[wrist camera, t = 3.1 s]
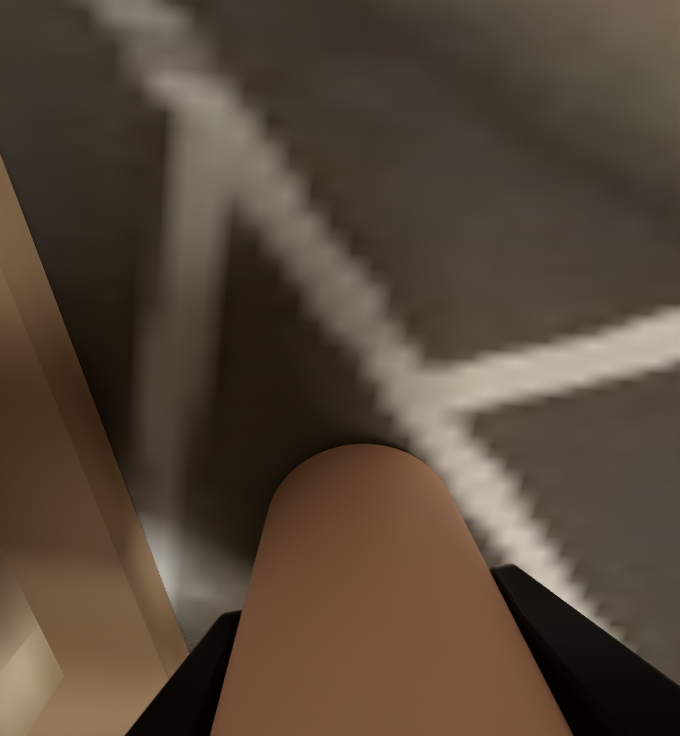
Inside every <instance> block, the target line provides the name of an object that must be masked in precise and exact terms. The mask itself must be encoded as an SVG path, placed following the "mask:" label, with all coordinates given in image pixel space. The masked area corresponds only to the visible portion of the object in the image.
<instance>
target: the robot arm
mask: <svg viewBox="0 0 680 736" xmlns="http://www.w3.org/2000/svg"><path fill="white" fill-rule="evenodd" d="M490 573H491V575H492V577H493V579H494V581H495V583H496V585H497V587H498V589H499V591H500V592H501V594H502V596H503V598H504V600H505V602H506V604H507V606H508V608H509V610H510V612H511V614H512V616H513V618H514V620H515V622H516V624H517V626H518V628H519V630H520V632H521V634H522V636H523V637H524V639H525V641H526V643H527V645H528V647H529V649H530V651H531V653H532V655H533V657H534V659H535V661H536V663H537V665H538V667H539V669H540V671H541V673H542V675H543V677H544V679H545V681H546V682H547V684H548V686H549V688H550V690H551V692H552V694H553V696H554V698H555V700H556V702H557V704H558V706H559V708H560V710H561V712H562V714H563V716H564V718H565V720H566V722H567V724H568V726H569V727H570V729H571V731H572V733H573V735H574V736H680V686H679V685H677V684H676V683H675V682H673V681H672V680H671V679H669V678H668V677H667V676H665V675H664V674H662V673H661V672H660V671H658V670H657V669H656V668H654V667H653V666H652V665H650V664H649V663H648V662H646V661H645V660H643V659H642V658H641V657H639V656H638V655H637V654H635V653H634V652H633V651H631V650H630V649H629V648H627V647H626V646H624V645H623V644H622V643H620V642H619V641H618V640H616V639H615V638H614V637H612V636H611V635H610V634H608V633H607V632H605V631H604V630H603V629H601V628H600V627H599V626H597V625H596V624H595V623H593V622H592V621H591V620H589V619H588V618H586V617H585V616H584V615H582V614H581V613H580V612H578V611H577V610H576V609H574V608H573V607H572V606H570V605H569V604H567V603H566V602H565V601H563V600H562V599H561V598H559V597H558V596H557V595H555V594H554V593H553V592H551V591H550V590H548V589H547V588H546V587H544V586H543V585H542V584H540V583H539V582H538V581H536V580H535V579H534V578H532V577H531V576H529V575H528V574H527V573H525V572H524V571H523V570H521V569H520V568H519V567H517V566H516V565H514V564H503V565H498V566H493V567H491V568H490ZM241 613H242V610H239V611H233V612H228V613H224V614H222V615H220V616H219V617H218V618H217V620H216V621H215V622H214V624H213V625H212V626H211V627H210V629H209V630H208V631H207V632H206V634H205V635H204V636H203V637H202V639H201V640H200V641H199V642H198V644H197V645H196V646H195V647H194V649H193V650H192V651H191V652H190V654H189V655H188V656H187V657H186V659H185V660H184V661H183V662H182V664H181V665H180V666H179V667H178V669H177V670H176V671H175V673H174V674H173V675H172V676H171V678H170V679H169V680H168V681H167V683H166V684H165V685H164V686H163V688H162V689H161V690H160V691H159V693H158V694H157V695H156V696H155V698H154V699H153V700H152V701H151V703H150V704H149V705H148V706H147V708H146V709H145V710H144V711H143V713H142V714H141V715H140V716H139V718H138V719H137V720H136V722H135V723H134V724H133V725H132V727H131V728H130V729H129V730H128V732H127V733H126V734H125V735H124V736H210V734H211V730H212V726H213V722H214V718H215V714H216V710H217V706H218V703H219V699H220V695H221V691H222V687H223V683H224V679H225V675H226V672H227V668H228V664H229V660H230V656H231V652H232V648H233V644H234V640H235V637H236V633H237V629H238V625H239V621H240V617H241Z"/></svg>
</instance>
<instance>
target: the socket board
mask: <svg viewBox="0 0 680 736" xmlns="http://www.w3.org/2000/svg"><path fill="white" fill-rule="evenodd" d="M188 655H189V651H188V649H187V646H186V643H185V641H184V638H183V636H182V633H181V630H180V628H179V625H178V622H177V620H176V617H175V614H174V612H173V609H172V606H171V604H170V601H169V599H168V596H167V593H166V591H165V588H164V585H163V583H162V580H161V577H160V575H159V572H158V569H157V567H156V564H155V562H154V559H153V556H152V554H151V551H150V548H149V546H148V543H147V540H146V538H145V535H144V533H143V530H142V527H141V525H140V522H139V519H138V517H137V514H136V511H135V509H134V506H133V503H132V501H131V498H130V496H129V493H128V490H127V488H126V485H125V482H124V480H123V477H122V474H121V472H120V469H119V466H118V464H117V461H116V459H115V456H114V453H113V451H112V448H111V445H110V443H109V440H108V437H107V435H106V432H105V430H104V427H103V424H102V422H101V419H100V416H99V414H98V411H97V408H96V406H95V403H94V400H93V398H92V395H91V393H90V390H89V387H88V385H87V382H86V379H85V377H84V374H83V371H82V369H81V366H80V363H79V361H78V358H77V356H76V353H75V350H74V348H73V345H72V342H71V340H70V337H69V334H68V332H67V329H66V327H65V324H64V321H63V319H62V316H61V313H60V311H59V308H58V305H57V303H56V300H55V297H54V295H53V292H52V290H51V287H50V284H49V282H48V279H47V276H46V274H45V271H44V268H43V266H42V263H41V260H40V258H39V255H38V253H37V250H36V247H35V245H34V242H33V239H32V237H31V234H30V231H29V229H28V226H27V223H26V221H25V218H24V216H23V213H22V210H21V208H20V205H19V202H18V200H17V197H16V194H15V192H14V189H13V187H12V184H11V181H10V179H9V176H8V173H7V171H6V168H5V165H4V163H3V160H2V157H1V155H0V736H124V735H125V734H126V733H127V732H128V730H129V729H130V728H131V727H132V725H133V724H134V723H135V722H136V720H137V719H138V718H139V716H140V715H141V714H142V713H143V711H144V710H145V709H146V708H147V706H148V705H149V704H150V703H151V701H152V700H153V699H154V698H155V696H156V695H157V694H158V693H159V691H160V690H161V689H162V688H163V686H164V685H165V684H166V683H167V681H168V680H169V679H170V678H171V676H172V675H173V674H174V673H175V671H176V670H177V669H178V667H179V666H180V665H181V664H182V662H183V661H184V660H185V659H186V657H187V656H188Z"/></svg>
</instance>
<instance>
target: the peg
mask: <svg viewBox="0 0 680 736" xmlns="http://www.w3.org/2000/svg"><path fill="white" fill-rule="evenodd" d="M210 736H574V735H573V733H572V731H571V729H570V727H569V726H568V724H567V722H566V720H565V718H564V716H563V714H562V712H561V710H560V708H559V706H558V704H557V702H556V700H555V698H554V696H553V694H552V692H551V690H550V688H549V686H548V684H547V682H546V681H545V679H544V677H543V675H542V673H541V671H540V669H539V667H538V665H537V663H536V661H535V659H534V657H533V655H532V653H531V651H530V649H529V647H528V645H527V643H526V641H525V639H524V637H523V636H522V634H521V632H520V630H519V628H518V626H517V624H516V622H515V620H514V618H513V616H512V614H511V612H510V610H509V608H508V606H507V604H506V602H505V600H504V598H503V596H502V594H501V592H500V591H499V589H498V587H497V585H496V583H495V581H494V579H493V577H492V575H491V573H490V571H489V569H488V567H487V565H486V563H485V561H484V559H483V557H482V555H481V553H480V551H479V549H478V547H477V546H476V544H475V542H474V540H473V538H472V536H471V534H470V532H469V530H468V528H467V526H466V524H465V522H464V520H463V518H462V516H461V514H460V512H459V510H458V508H457V506H456V504H455V503H454V501H453V499H452V497H451V495H450V493H449V491H448V489H447V487H446V486H445V484H444V483H443V481H442V480H441V479H440V477H439V476H438V475H437V474H436V473H435V472H434V471H433V470H432V469H431V468H430V467H429V466H428V465H426V464H425V463H424V462H422V461H421V460H419V459H418V458H416V457H414V456H412V455H410V454H409V453H406V452H404V451H401V450H398V449H396V448H392V447H388V446H383V445H375V444H352V445H344V446H340V447H336V448H332V449H329V450H326V451H324V452H321V453H318V454H316V455H315V456H313V457H311V458H309V459H307V460H306V461H304V462H303V463H301V464H300V465H299V466H297V467H296V468H295V469H294V470H293V471H292V472H291V473H290V474H288V475H287V477H286V478H285V479H284V480H283V481H282V483H281V484H280V485H279V487H278V489H277V490H276V492H275V494H274V495H273V498H272V500H271V503H270V505H269V509H268V512H267V516H266V520H265V524H264V528H263V532H262V536H261V540H260V543H259V547H258V551H257V555H256V559H255V563H254V567H253V571H252V575H251V578H250V582H249V586H248V590H247V594H246V598H245V602H244V606H243V609H242V613H241V617H240V621H239V625H238V629H237V633H236V637H235V640H234V644H233V648H232V652H231V656H230V660H229V664H228V668H227V672H226V675H225V679H224V683H223V687H222V691H221V695H220V699H219V703H218V706H217V710H216V714H215V718H214V722H213V726H212V730H211V734H210Z"/></svg>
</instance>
